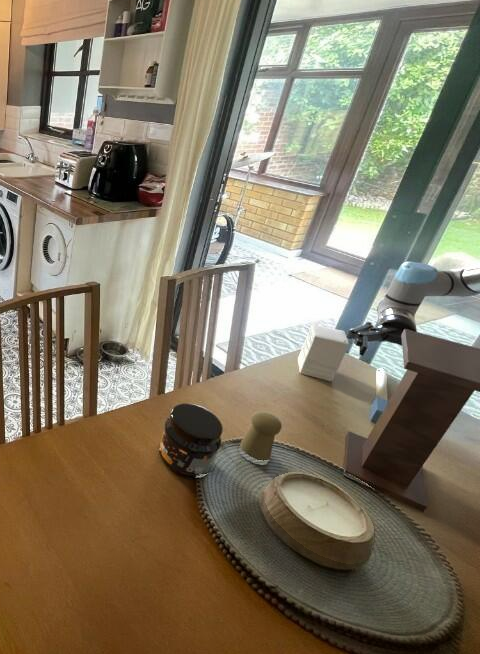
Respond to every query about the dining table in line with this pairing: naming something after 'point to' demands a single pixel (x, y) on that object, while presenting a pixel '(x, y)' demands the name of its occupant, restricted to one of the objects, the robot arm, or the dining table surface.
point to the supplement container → (190, 440)
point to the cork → (261, 435)
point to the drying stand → (415, 417)
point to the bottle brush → (379, 395)
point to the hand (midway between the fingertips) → (399, 362)
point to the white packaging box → (322, 352)
